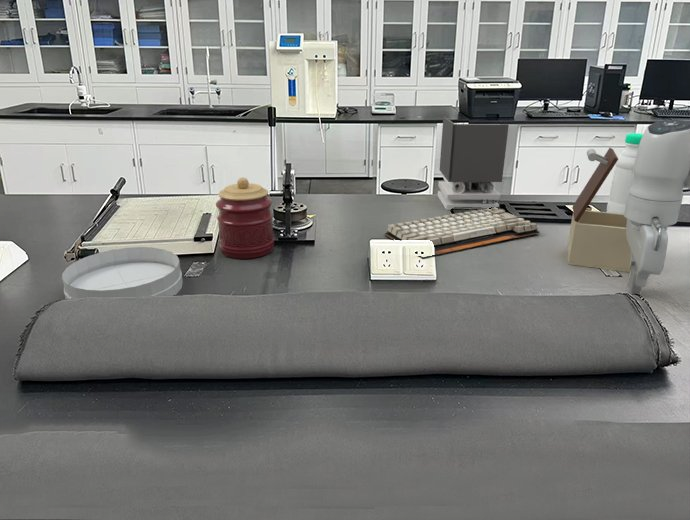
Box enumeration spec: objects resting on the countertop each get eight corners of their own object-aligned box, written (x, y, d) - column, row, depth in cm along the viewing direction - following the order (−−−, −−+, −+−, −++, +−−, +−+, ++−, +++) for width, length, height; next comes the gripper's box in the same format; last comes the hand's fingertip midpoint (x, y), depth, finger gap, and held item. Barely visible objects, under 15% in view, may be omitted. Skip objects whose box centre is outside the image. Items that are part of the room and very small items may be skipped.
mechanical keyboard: (423, 258, 123) (423, 245, 122) (381, 234, 139) (381, 222, 137) (542, 235, 139) (543, 222, 138) (492, 215, 155) (493, 204, 153)
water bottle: (636, 228, 144) (658, 134, 134) (622, 233, 140) (643, 137, 131) (612, 221, 149) (631, 131, 140) (597, 225, 146) (616, 133, 136)
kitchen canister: (247, 236, 137) (242, 168, 130) (285, 247, 130) (282, 176, 123) (208, 251, 127) (201, 179, 120) (247, 264, 120) (242, 187, 113)
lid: (612, 149, 119) (591, 139, 120) (618, 159, 109) (595, 148, 110) (575, 207, 127) (555, 198, 127) (577, 222, 116) (556, 212, 117)
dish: (166, 260, 122) (163, 240, 120) (197, 296, 104) (195, 273, 103) (59, 282, 111) (54, 260, 109) (74, 326, 93) (68, 301, 92)
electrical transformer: (446, 209, 159) (453, 124, 149) (435, 192, 177) (441, 115, 167) (498, 209, 159) (508, 124, 149) (483, 192, 177) (491, 115, 167)
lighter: (627, 284, 109) (635, 248, 106) (636, 285, 108) (644, 248, 105) (632, 299, 102) (641, 261, 99) (642, 300, 102) (651, 262, 99)
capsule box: (632, 254, 126) (641, 215, 122) (639, 273, 116) (649, 231, 112) (566, 247, 131) (573, 209, 127) (568, 264, 120) (575, 223, 117)
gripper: (683, 229, 89) (664, 302, 95) (660, 197, 107) (646, 260, 112) (641, 225, 91) (625, 297, 97) (626, 194, 109) (613, 257, 114)
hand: (636, 277), depth 105 cm, fingers closed on lighter, 6 cm apart
